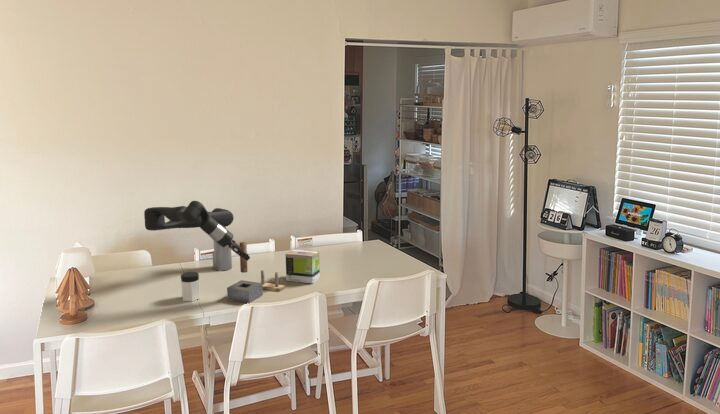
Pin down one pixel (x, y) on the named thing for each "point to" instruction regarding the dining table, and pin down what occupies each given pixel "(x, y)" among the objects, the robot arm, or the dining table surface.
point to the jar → (190, 286)
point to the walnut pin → (242, 261)
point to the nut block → (245, 291)
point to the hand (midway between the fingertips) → (247, 257)
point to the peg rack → (271, 286)
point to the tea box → (302, 266)
